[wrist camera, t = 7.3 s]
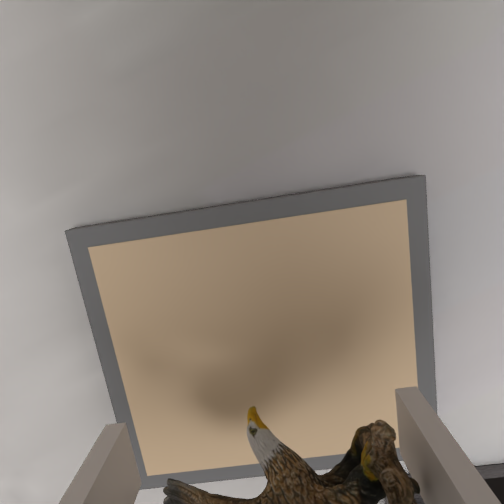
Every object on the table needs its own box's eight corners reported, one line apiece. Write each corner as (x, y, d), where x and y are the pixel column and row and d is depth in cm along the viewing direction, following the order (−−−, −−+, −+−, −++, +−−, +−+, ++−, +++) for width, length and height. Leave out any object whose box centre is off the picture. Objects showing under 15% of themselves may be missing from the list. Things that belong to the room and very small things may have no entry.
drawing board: (416, 174, 18) (426, 175, 17) (431, 443, 22) (439, 457, 21) (74, 227, 19) (63, 231, 18) (140, 476, 23) (134, 491, 22)
